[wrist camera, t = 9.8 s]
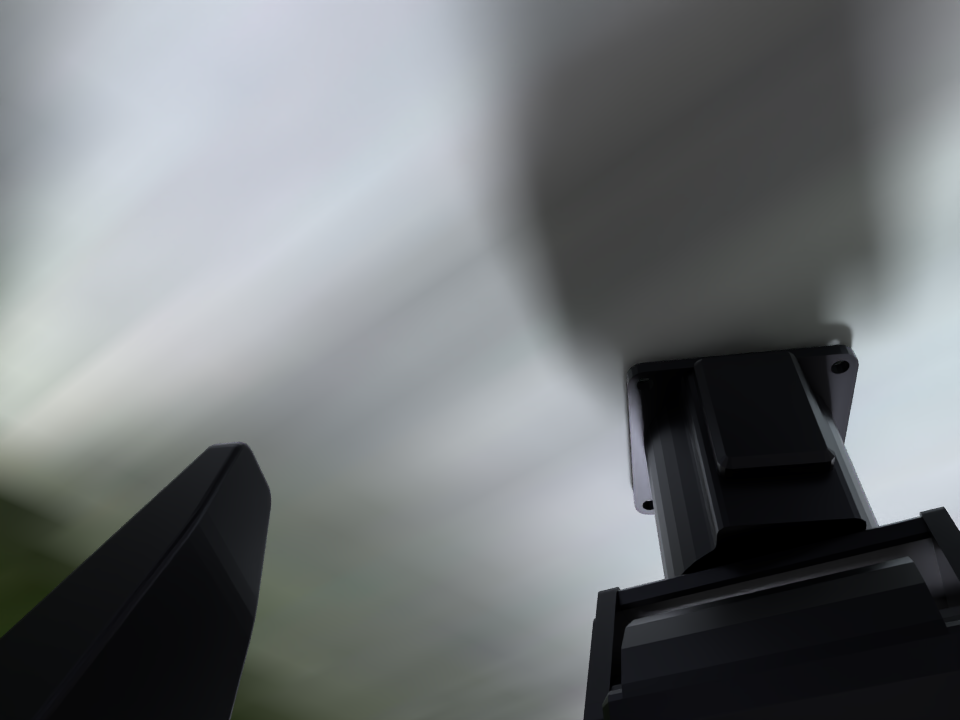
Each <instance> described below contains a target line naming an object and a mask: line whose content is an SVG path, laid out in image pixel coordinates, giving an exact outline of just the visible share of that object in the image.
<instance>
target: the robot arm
mask: <svg viewBox="0 0 960 720" xmlns="http://www.w3.org/2000/svg"><path fill="white" fill-rule="evenodd" d="M840 360H844V361H843V362H841V363H840V364H837V365H833V364H834V363H835V362H837V361H840ZM858 366H859V364H858V359H857V357H856V355H855V353H854V351H853V350H852V349H851V348H850V347H848V346H846V345H832V346H821V347H810V348H799V349H789V350H778V351H767V352H756V353H745V354H735V355H724V356H713V357H702V358H692V359H681V360H670V361H659V362H649V363H641V364H637V365H635V366H633V367H632V368H631V369H630V370H629V371H628V373H627V391H628V409H629V426H630V443H631V460H632V477H633V494H634V503H635V508H636V510H637V511H638V512H640V513H642V514H648V515H652V514H655V519H656V526H657V532H658V538H659V545H660V551H661V557H662V564H663V570H664V576H665V579H663V580H659V581H655V582H651V583H647V584H642V585H638V586H634V587H630V588H626V589H622V590H620V589H619V587H616V588H612V589H608V590H604V591H600V592H598V600H597V609H596V619H594V621H593V630H592V640H591V650H590V660H589V670H588V680H587V690H586V700H585V710H584V720H960V531H959V530H958V528H957V526H956V525H955V523H954V522H953V520H952V519H951V517H950V515H949V514H948V512H947V511H946V509H945V508H944V507H940V508H936V509H932V510H927V511H923V512H920V516H919V517H915V518H911V519H907V520H903V521H899V522H895V523H891V524H887V525H883V526H879V525H878V523H877V520H876V518H875V516H874V513H873V511H872V509H871V506H870V504H869V502H868V499H867V497H866V495H865V492H864V490H863V488H862V485H861V483H860V481H859V478H858V476H857V473H856V471H855V469H854V466H853V464H852V462H851V459H850V457H849V455H848V452H847V450H846V448H845V445H844V442H845V437H846V431H847V426H848V421H849V415H850V410H851V404H852V399H853V393H854V388H855V383H856V377H857V372H858ZM643 378H649V379H650V380H649V381H646V382H639V380H640V379H643ZM648 500H651V501H648ZM270 510H271V493H270V489H269V486H268V483H267V481H266V479H265V477H264V475H263V473H262V471H261V469H260V466H259V464H258V462H257V460H256V458H255V456H254V454H253V452H252V450H251V448H250V447H249V446H248V445H247V444H246V443H243V442H232V443H219V444H214V445H212V446H210V447H208V448H207V449H206V450H205V451H204V452H203V453H202V454H200V455H199V456H198V457H197V458H196V459H195V460H194V461H193V462H192V463H191V464H190V465H188V466H187V467H186V468H185V469H184V470H183V471H182V472H181V473H180V474H179V475H178V476H177V477H175V478H174V479H173V480H172V481H171V482H170V483H169V484H168V485H167V486H166V487H165V488H163V489H162V490H161V491H160V492H159V493H158V494H157V495H156V496H155V497H154V498H153V499H151V500H150V501H149V502H148V503H147V504H146V505H145V506H144V507H143V508H142V509H141V510H140V511H138V512H137V513H136V514H135V515H134V516H133V517H132V518H131V519H130V520H129V521H128V522H126V523H125V524H124V525H123V526H122V527H121V528H120V529H119V530H118V531H117V532H116V533H114V534H113V535H112V536H111V537H110V538H109V539H108V540H107V541H106V542H105V543H104V544H102V545H101V546H100V547H99V548H98V549H97V550H96V551H95V552H94V553H93V554H92V555H91V556H89V557H88V558H87V559H86V560H85V561H84V562H83V563H82V564H81V565H80V566H79V567H77V568H76V569H75V570H74V571H73V572H72V573H71V574H70V575H69V576H68V577H67V578H65V579H64V580H63V581H62V582H61V583H60V584H59V585H58V586H57V587H56V588H55V589H54V590H52V591H51V592H50V593H49V594H48V595H47V596H46V597H45V598H44V599H43V600H42V601H40V602H39V603H38V604H37V605H36V606H35V607H34V608H33V609H32V610H31V611H30V612H28V613H27V614H26V615H25V616H24V617H23V618H22V619H21V620H20V621H19V622H18V623H17V624H15V625H14V626H13V627H12V628H11V629H10V630H9V631H8V632H7V633H6V634H5V635H3V636H2V637H1V638H0V720H230V718H231V714H232V710H233V706H234V702H235V698H236V694H237V690H238V687H239V683H240V679H241V675H242V671H243V667H244V663H245V659H246V655H247V651H248V647H249V643H250V639H251V635H252V631H253V626H254V622H255V616H256V610H257V604H258V598H259V590H260V583H261V576H262V569H263V561H264V554H265V547H266V540H267V532H268V525H269V518H270Z"/></svg>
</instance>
